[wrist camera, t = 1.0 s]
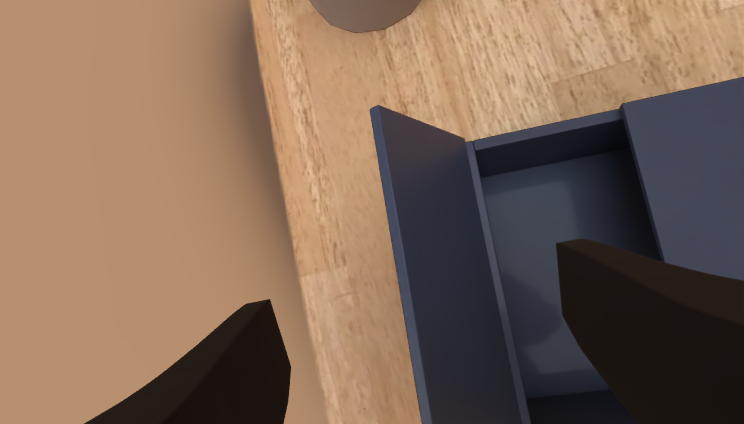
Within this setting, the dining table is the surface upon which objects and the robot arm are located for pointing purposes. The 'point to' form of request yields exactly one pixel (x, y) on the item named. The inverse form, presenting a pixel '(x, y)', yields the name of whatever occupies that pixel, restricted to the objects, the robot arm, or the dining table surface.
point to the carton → (604, 223)
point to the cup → (364, 13)
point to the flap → (443, 274)
